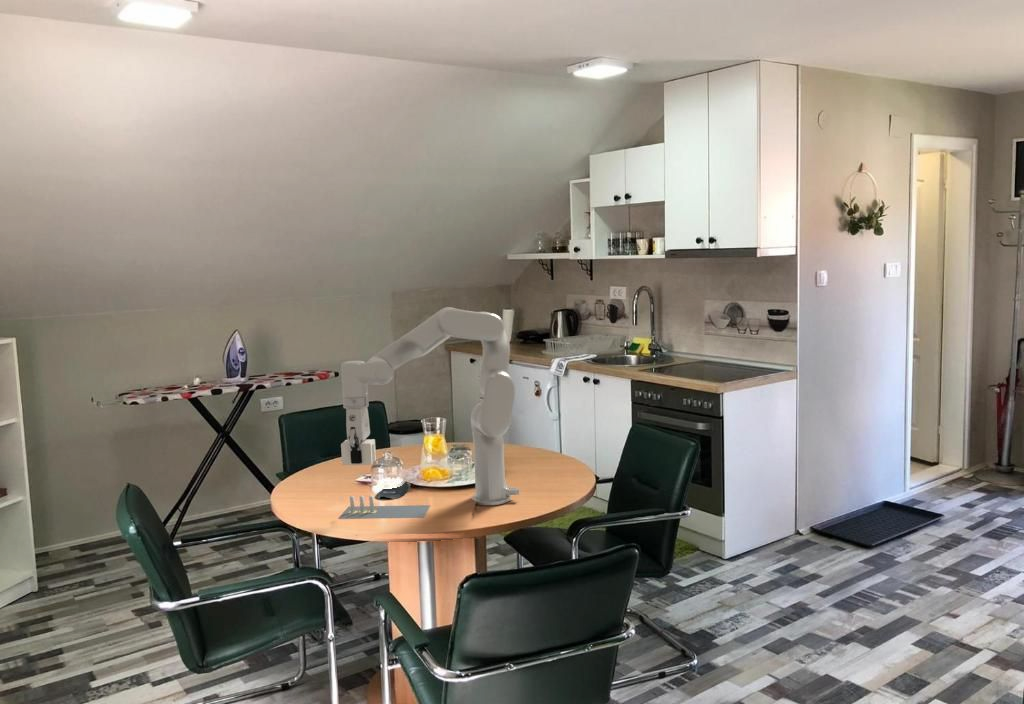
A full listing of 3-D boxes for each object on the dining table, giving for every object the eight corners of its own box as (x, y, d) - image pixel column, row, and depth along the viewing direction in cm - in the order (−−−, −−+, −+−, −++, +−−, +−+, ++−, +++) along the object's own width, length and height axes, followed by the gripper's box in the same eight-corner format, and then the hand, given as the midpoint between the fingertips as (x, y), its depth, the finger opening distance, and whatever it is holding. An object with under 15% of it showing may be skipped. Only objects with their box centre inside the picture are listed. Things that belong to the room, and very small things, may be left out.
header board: (430, 508, 261) (429, 489, 260) (423, 521, 249) (422, 501, 248) (348, 510, 263) (347, 491, 262) (338, 522, 251) (336, 502, 250)
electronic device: (382, 495, 284) (371, 502, 269) (384, 479, 284) (373, 485, 269) (409, 499, 283) (400, 506, 268) (411, 482, 283) (402, 489, 268)
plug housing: (376, 460, 257) (374, 439, 256) (371, 464, 251) (370, 443, 251) (347, 460, 258) (345, 439, 257) (342, 465, 252) (340, 444, 251)
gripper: (360, 406, 244) (364, 467, 246) (374, 396, 261) (377, 453, 263) (335, 407, 244) (339, 468, 246) (351, 397, 261) (354, 454, 263)
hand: (359, 460), depth 254 cm, fingers closed on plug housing, 5 cm apart
